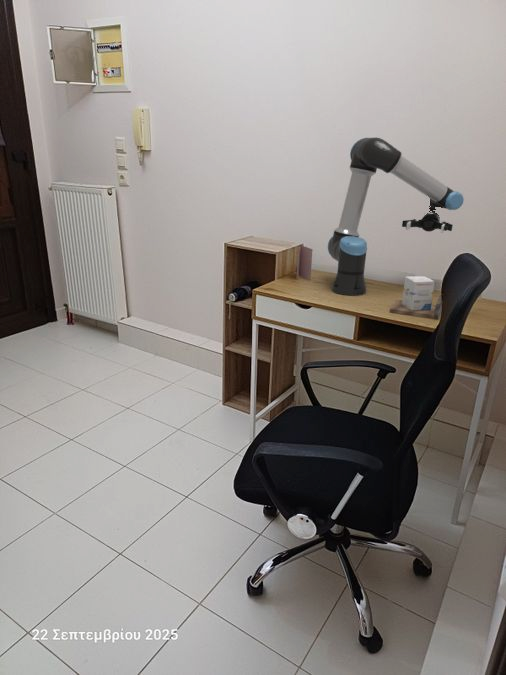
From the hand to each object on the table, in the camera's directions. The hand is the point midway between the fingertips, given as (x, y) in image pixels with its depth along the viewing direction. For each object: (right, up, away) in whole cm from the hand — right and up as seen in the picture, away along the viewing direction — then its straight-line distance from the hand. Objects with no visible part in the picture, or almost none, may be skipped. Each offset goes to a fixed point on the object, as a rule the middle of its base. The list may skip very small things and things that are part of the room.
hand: (424, 227), depth 199 cm
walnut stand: (-6, -34, -6) cm, 35 cm away
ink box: (-6, -33, -7) cm, 34 cm away
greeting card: (-45, -16, +40) cm, 63 cm away
